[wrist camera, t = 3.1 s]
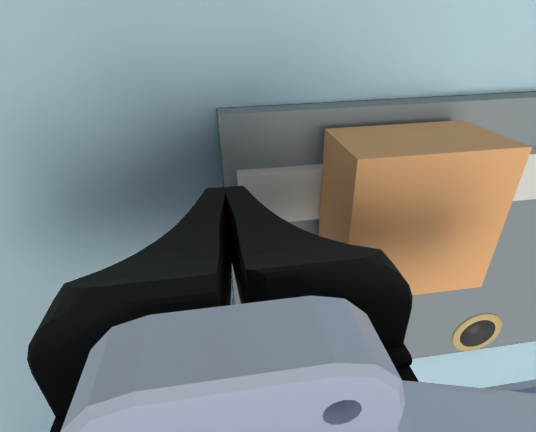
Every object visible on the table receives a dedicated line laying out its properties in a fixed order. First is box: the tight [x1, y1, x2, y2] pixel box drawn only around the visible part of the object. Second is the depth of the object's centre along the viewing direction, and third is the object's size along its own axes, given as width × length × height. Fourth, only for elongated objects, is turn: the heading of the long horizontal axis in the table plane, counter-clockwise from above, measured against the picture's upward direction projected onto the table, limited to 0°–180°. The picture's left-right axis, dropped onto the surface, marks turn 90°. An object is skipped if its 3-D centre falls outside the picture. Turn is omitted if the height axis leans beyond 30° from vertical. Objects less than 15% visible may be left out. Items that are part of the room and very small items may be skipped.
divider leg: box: [319, 120, 532, 295], centre depth 14 cm, size 5×12×3 cm, turn 1°
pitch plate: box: [217, 92, 536, 359], centre depth 16 cm, size 20×14×2 cm
